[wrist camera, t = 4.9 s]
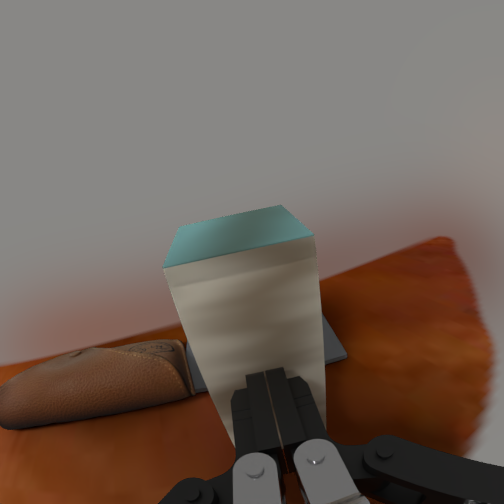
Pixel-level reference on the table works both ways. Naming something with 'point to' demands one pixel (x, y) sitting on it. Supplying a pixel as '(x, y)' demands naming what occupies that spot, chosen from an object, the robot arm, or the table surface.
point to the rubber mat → (331, 354)
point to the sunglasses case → (96, 384)
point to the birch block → (249, 302)
